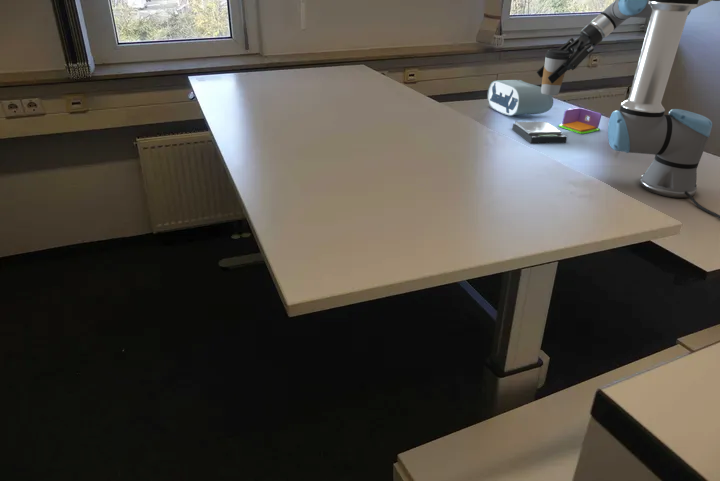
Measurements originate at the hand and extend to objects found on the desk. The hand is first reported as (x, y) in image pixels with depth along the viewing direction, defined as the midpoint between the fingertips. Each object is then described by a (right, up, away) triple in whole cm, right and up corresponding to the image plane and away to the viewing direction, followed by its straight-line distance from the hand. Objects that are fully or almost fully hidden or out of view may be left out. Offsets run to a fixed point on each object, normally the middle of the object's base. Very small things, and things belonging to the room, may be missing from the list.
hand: (544, 77), depth 192 cm
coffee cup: (+3, -5, +3) cm, 7 cm away
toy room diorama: (+22, -14, +23) cm, 34 cm away
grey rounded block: (+2, -3, +41) cm, 41 cm away
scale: (+2, -19, +11) cm, 22 cm away
